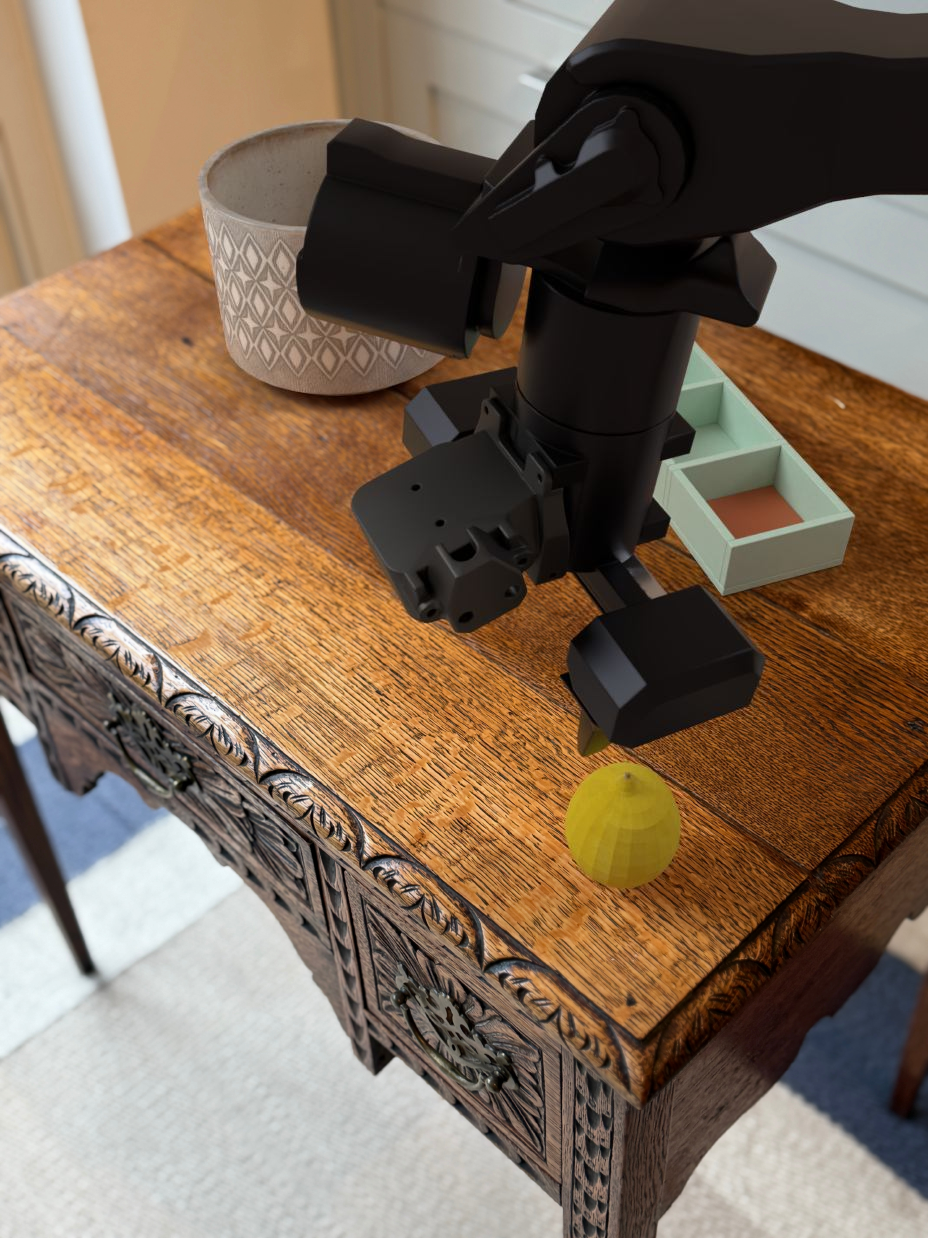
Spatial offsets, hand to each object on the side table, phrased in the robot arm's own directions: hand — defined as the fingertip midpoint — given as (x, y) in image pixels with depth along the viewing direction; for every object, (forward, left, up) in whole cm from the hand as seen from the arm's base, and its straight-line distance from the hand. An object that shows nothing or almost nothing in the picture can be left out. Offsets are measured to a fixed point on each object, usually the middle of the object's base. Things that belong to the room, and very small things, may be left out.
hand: (537, 674), depth 52 cm
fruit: (-4, -3, -13) cm, 14 cm away
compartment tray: (+21, -26, -13) cm, 36 cm away
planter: (+48, -11, -13) cm, 51 cm away
